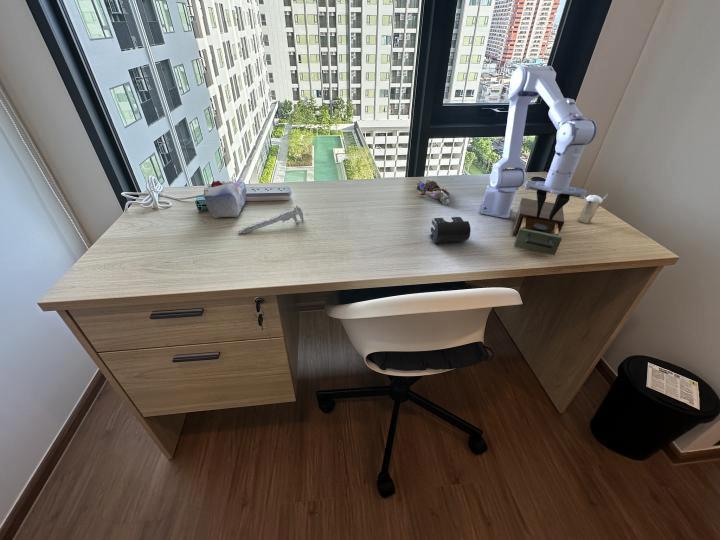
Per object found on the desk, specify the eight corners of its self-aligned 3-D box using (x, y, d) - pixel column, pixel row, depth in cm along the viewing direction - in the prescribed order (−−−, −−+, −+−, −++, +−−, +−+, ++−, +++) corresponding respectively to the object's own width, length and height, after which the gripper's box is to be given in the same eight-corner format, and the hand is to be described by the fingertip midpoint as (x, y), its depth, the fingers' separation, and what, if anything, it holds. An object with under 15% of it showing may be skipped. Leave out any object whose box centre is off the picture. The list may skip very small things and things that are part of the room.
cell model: (198, 191, 101) (204, 170, 116) (207, 223, 107) (211, 199, 123) (242, 187, 104) (242, 167, 120) (249, 218, 110) (248, 195, 126)
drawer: (555, 264, 90) (563, 246, 86) (512, 254, 93) (518, 237, 90) (553, 236, 102) (560, 220, 98) (516, 229, 105) (521, 212, 102)
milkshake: (596, 225, 110) (610, 197, 104) (579, 223, 111) (591, 195, 105) (591, 218, 114) (604, 191, 108) (574, 217, 114) (587, 190, 108)
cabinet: (554, 244, 100) (564, 221, 95) (512, 235, 104) (519, 213, 99) (553, 225, 109) (562, 204, 105) (515, 218, 113) (521, 197, 109)
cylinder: (528, 241, 97) (533, 227, 95) (528, 235, 100) (533, 222, 97) (542, 244, 96) (547, 230, 93) (542, 237, 99) (547, 224, 96)
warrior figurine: (408, 190, 132) (433, 209, 118) (410, 178, 129) (435, 196, 115) (434, 186, 135) (460, 204, 122) (436, 174, 132) (463, 191, 119)
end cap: (435, 248, 97) (439, 227, 93) (428, 235, 103) (431, 216, 99) (467, 246, 98) (472, 226, 94) (459, 234, 104) (463, 214, 100)
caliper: (302, 221, 110) (301, 203, 106) (303, 222, 109) (302, 205, 105) (239, 232, 103) (234, 214, 99) (239, 234, 102) (235, 216, 98)
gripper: (531, 170, 85) (515, 217, 93) (595, 179, 80) (573, 228, 88) (532, 162, 90) (517, 207, 98) (592, 170, 86) (571, 217, 94)
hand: (543, 217), depth 94 cm, fingers open, 3 cm apart
